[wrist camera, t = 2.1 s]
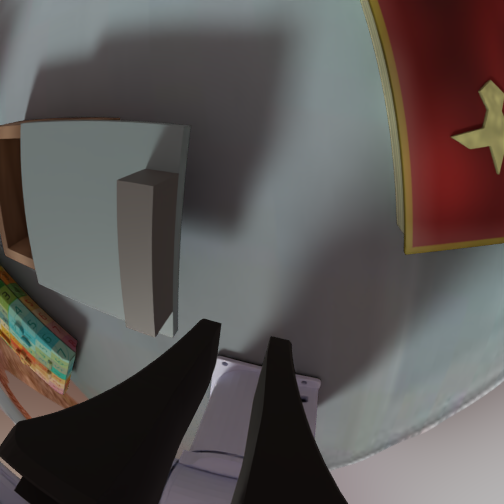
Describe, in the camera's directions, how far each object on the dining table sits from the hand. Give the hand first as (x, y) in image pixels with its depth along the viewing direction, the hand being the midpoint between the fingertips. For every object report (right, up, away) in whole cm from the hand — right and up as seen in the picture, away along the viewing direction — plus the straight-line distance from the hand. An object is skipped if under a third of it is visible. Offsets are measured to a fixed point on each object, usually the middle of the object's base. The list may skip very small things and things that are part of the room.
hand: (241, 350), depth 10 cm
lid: (-9, +5, +6) cm, 13 cm away
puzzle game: (-30, -5, +21) cm, 37 cm away
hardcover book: (+13, +15, +2) cm, 20 cm away
